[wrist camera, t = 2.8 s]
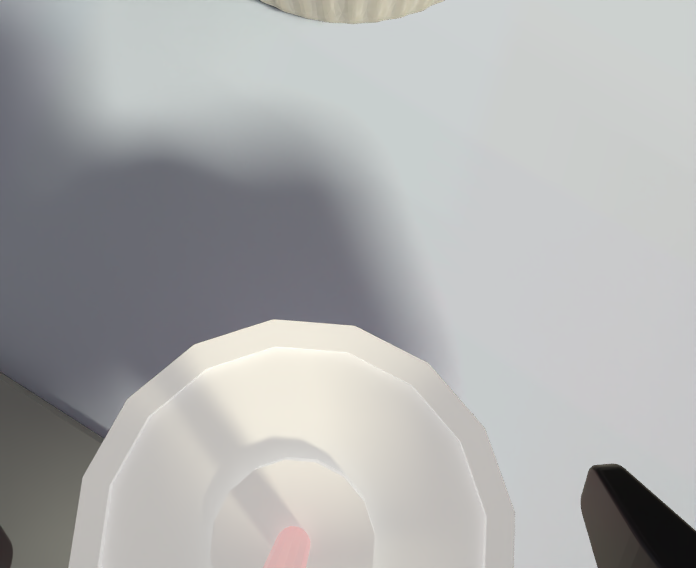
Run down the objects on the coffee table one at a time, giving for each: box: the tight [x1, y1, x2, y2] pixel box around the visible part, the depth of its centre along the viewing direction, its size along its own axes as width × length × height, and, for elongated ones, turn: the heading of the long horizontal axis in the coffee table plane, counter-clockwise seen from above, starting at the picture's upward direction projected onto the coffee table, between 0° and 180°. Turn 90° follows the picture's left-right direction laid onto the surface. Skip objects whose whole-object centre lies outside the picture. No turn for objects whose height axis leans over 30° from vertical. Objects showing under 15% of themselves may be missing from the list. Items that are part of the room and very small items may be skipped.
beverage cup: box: [68, 319, 515, 568], centre depth 10 cm, size 6×6×14 cm
